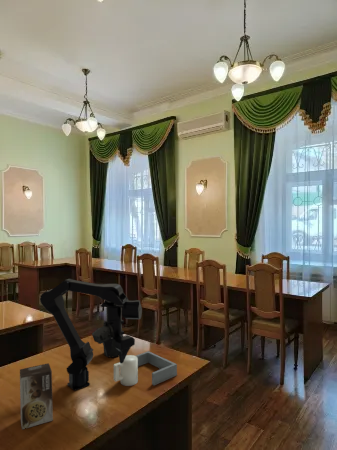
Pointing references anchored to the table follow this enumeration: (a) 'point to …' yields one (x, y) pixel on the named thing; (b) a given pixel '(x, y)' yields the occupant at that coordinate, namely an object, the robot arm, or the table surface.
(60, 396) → the table surface
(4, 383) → the table surface
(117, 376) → the jug
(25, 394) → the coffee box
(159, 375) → the frame
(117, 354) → the pen holder
